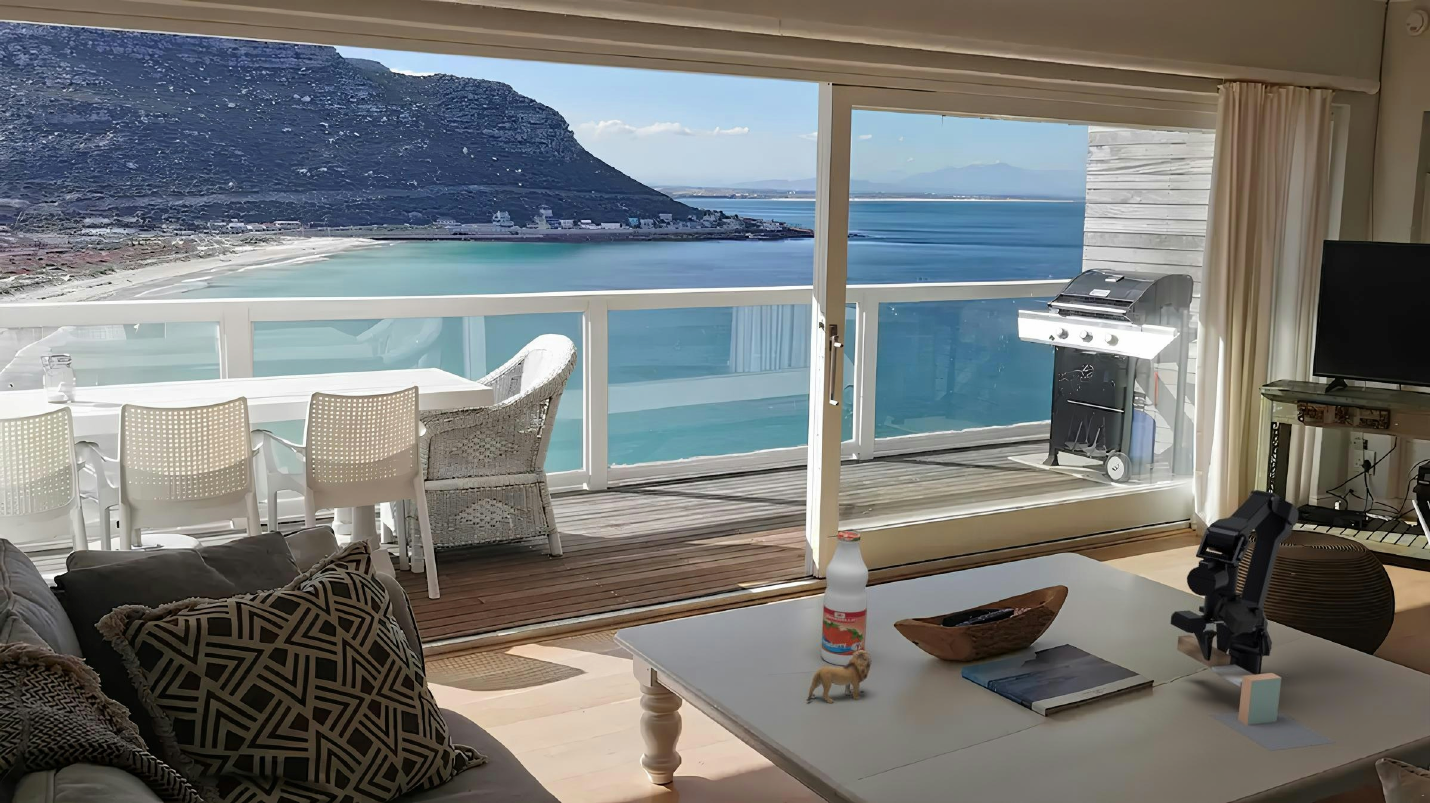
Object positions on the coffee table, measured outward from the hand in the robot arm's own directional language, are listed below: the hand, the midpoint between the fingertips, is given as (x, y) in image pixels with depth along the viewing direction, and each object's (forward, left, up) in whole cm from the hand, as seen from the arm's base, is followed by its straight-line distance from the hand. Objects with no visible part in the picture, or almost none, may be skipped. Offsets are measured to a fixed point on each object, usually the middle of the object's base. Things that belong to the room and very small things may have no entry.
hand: (1213, 659), depth 236 cm
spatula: (0, +1, -1) cm, 1 cm away
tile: (0, +13, -8) cm, 15 cm away
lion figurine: (+75, -18, -8) cm, 78 cm away
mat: (0, +16, -8) cm, 18 cm away
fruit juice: (+66, -37, -8) cm, 76 cm away
